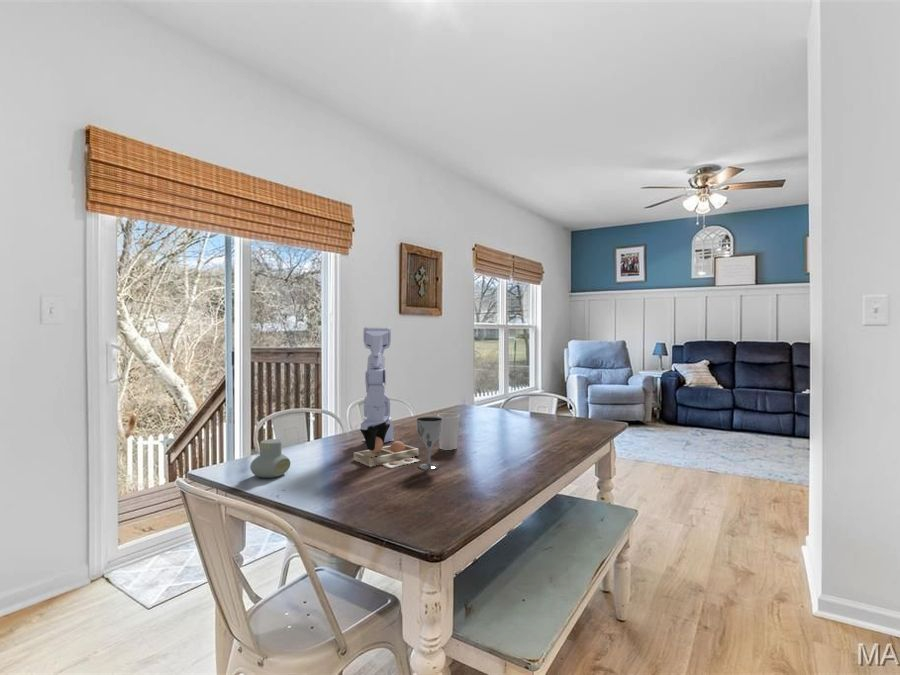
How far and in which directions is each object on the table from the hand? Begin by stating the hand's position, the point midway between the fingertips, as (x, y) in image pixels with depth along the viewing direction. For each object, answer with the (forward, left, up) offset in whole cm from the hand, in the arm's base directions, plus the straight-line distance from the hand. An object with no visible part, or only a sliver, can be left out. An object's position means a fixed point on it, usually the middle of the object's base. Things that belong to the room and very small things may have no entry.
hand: (375, 447), depth 154 cm
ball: (-9, 0, -2) cm, 9 cm away
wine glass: (-9, +17, -4) cm, 20 cm away
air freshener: (+31, -7, -4) cm, 33 cm away
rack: (-4, +3, -4) cm, 7 cm away
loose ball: (0, 0, +1) cm, 1 cm away
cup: (-29, +4, -4) cm, 29 cm away
